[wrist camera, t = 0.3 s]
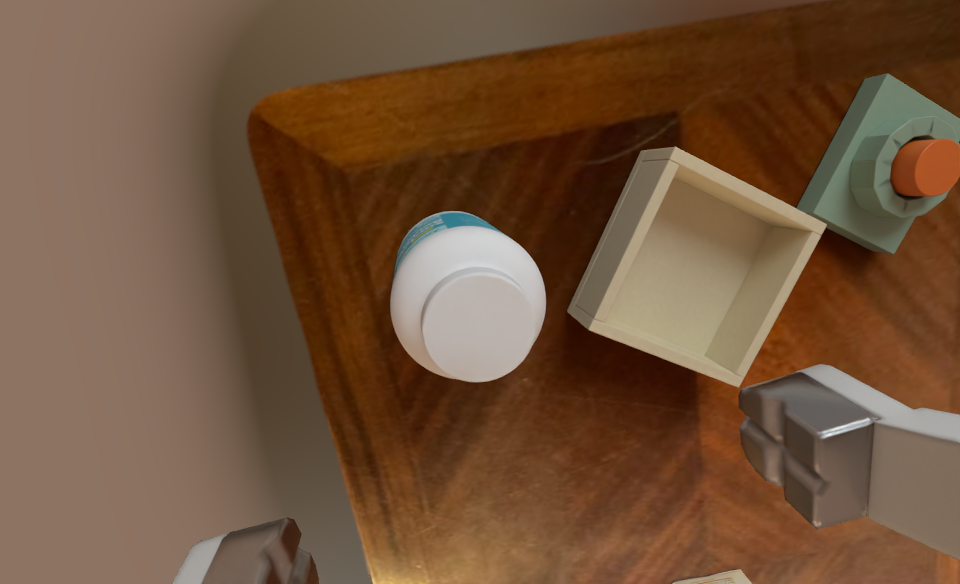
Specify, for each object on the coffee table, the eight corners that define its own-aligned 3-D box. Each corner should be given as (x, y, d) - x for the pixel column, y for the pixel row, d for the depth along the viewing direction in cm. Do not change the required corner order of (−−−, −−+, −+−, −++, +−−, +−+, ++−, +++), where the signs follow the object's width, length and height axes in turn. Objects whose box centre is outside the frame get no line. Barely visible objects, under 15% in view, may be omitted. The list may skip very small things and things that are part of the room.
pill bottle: (418, 192, 30) (426, 205, 17) (521, 233, 32) (599, 272, 19) (380, 299, 32) (361, 384, 19) (481, 332, 33) (528, 433, 20)
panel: (864, 78, 33) (916, 67, 30) (942, 126, 35) (1000, 121, 31) (793, 211, 35) (835, 215, 31) (872, 251, 36) (919, 259, 33)
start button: (907, 131, 31) (935, 128, 29) (944, 154, 32) (974, 152, 30) (878, 182, 32) (904, 183, 30) (915, 203, 32) (943, 205, 31)
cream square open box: (640, 150, 32) (675, 146, 28) (777, 218, 35) (828, 224, 30) (566, 311, 34) (588, 330, 30) (701, 364, 37) (738, 388, 32)
